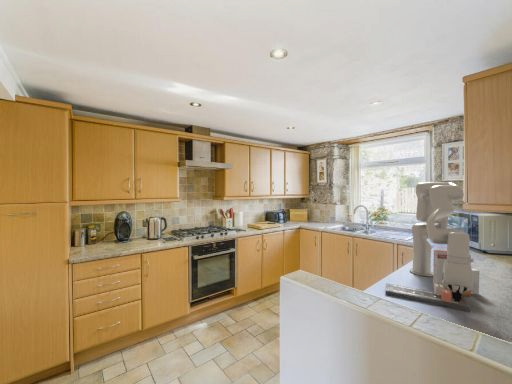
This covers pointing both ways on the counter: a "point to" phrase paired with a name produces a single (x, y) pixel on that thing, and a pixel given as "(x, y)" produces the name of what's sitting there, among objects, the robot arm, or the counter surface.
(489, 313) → the counter surface
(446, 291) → the rust fader
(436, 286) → the block
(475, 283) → the skincare box
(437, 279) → the cracker box
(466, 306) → the console
